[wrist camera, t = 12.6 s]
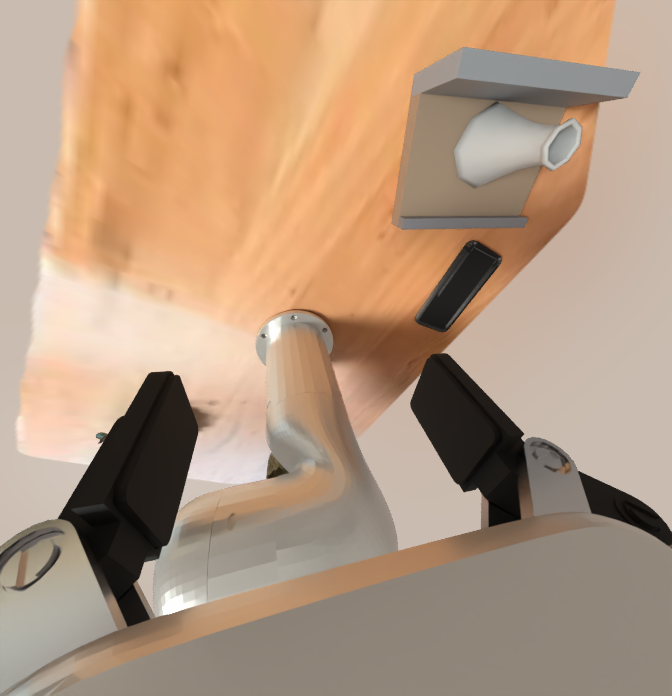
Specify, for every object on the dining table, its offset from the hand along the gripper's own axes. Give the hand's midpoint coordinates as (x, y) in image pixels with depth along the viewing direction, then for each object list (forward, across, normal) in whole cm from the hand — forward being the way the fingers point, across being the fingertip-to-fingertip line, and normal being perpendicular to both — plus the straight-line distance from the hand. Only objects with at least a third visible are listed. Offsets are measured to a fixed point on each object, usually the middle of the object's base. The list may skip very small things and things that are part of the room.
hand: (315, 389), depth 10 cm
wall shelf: (+27, -23, -9) cm, 37 cm away
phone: (+28, -28, +7) cm, 40 cm away
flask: (+25, -23, -11) cm, 35 cm away
